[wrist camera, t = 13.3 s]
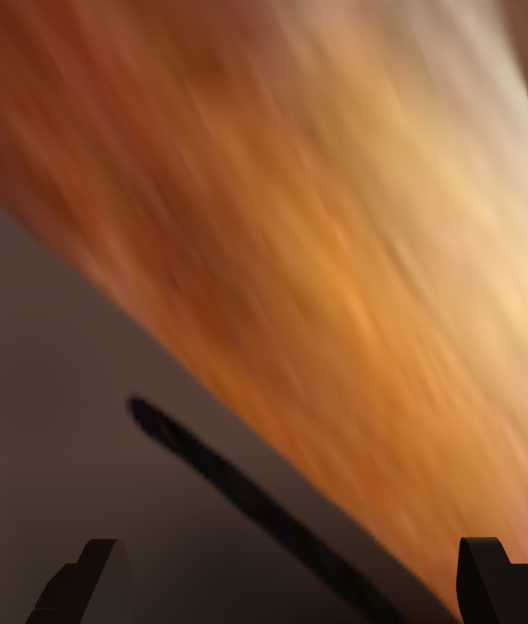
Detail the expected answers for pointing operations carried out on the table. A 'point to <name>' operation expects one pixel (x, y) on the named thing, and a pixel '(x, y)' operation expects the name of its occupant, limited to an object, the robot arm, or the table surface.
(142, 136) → the table surface
